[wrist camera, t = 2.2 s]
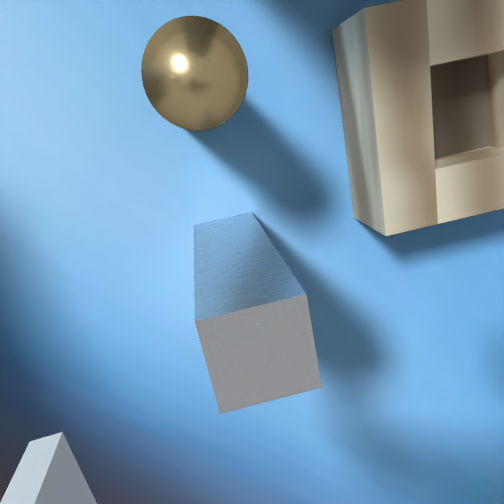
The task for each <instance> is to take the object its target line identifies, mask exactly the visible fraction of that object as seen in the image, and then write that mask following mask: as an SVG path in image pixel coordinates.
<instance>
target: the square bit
mask: <svg viewBox="0 0 504 504" xmlns="http://www.w3.org/2000/svg"><path fill="white" fill-rule="evenodd" d="M194 288H195V323H196V327H197V331H198V334H199V338H200V342H201V345H202V349H203V353H204V356H205V360H206V364H207V367H208V371H209V375H210V378H211V382H212V386H213V389H214V393H215V397H216V400H217V404H218V408H219V411H220V414H222V413H226V412H229V411H233V410H237V409H241V408H245V407H249V406H252V405H256V404H260V403H264V402H268V401H272V400H275V399H279V398H283V397H287V396H291V395H295V394H299V393H302V392H306V391H310V390H314V389H318V388H322V383H321V377H320V372H319V366H318V360H317V354H316V348H315V342H314V336H313V330H312V324H311V318H310V312H309V306H308V300H307V294H306V293H305V291H304V290H303V288H302V287H301V285H300V284H299V282H298V281H297V279H296V278H295V276H294V275H293V273H292V272H291V270H290V269H289V267H288V266H287V264H286V263H285V261H284V260H283V258H282V257H281V255H280V254H279V252H278V251H277V249H276V248H275V246H274V245H273V243H272V242H271V240H270V239H269V237H268V236H267V234H266V233H265V231H264V230H263V228H262V227H261V225H260V224H259V222H258V221H257V219H256V218H255V216H254V215H253V213H252V212H251V213H246V214H242V215H237V216H233V217H229V218H224V219H220V220H215V221H211V222H206V223H202V224H198V225H194Z"/></svg>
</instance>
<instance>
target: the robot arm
mask: <svg viewBox="0 0 504 504" xmlns="http://www.w3.org/2000/svg"><path fill="white" fill-rule="evenodd" d="M0 504H97V503H96V501H95V499H94V496H93V494H92V492H91V490H90V488H89V486H88V484H87V482H86V480H85V478H84V476H83V474H82V472H81V470H80V467H79V465H78V463H77V461H76V459H75V457H74V455H73V453H72V451H71V449H70V447H69V445H68V443H67V440H66V438H65V436H64V434H63V432H60V433H57V434H54V435H50V436H47V437H43V438H40V439H37V440H33V441H30V442H29V444H28V446H27V448H26V450H25V453H24V455H23V457H22V459H21V461H20V463H19V465H18V467H17V469H16V471H15V473H14V475H13V477H12V480H11V482H10V484H9V486H8V488H7V490H6V492H5V494H4V496H3V498H2V500H1V502H0Z"/></svg>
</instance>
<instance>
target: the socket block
mask: <svg viewBox="0 0 504 504" xmlns="http://www.w3.org/2000/svg"><path fill="white" fill-rule="evenodd" d="M332 36H333V44H334V52H335V61H336V69H337V78H338V86H339V95H340V103H341V111H342V120H343V128H344V137H345V145H346V154H347V162H348V171H349V179H350V187H351V196H352V204H353V213H354V218H356V219H357V220H359V221H361V222H362V223H364V224H366V225H368V226H369V227H371V228H373V229H374V230H376V231H378V232H380V233H381V234H383V235H385V236H389V235H393V234H397V233H402V232H406V231H410V230H414V229H419V228H423V227H427V226H431V225H436V224H440V223H444V222H448V221H453V220H457V219H461V218H465V217H469V216H474V215H478V214H482V213H486V212H491V211H495V210H499V209H503V208H504V0H401V1H396V2H391V3H386V4H380V5H375V6H370V7H365V8H363V9H362V10H360V11H359V12H357V13H356V14H354V15H353V16H351V17H350V18H348V19H347V20H345V21H344V22H342V23H341V24H339V25H338V26H336V27H335V28H333V29H332Z"/></svg>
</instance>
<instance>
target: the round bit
mask: <svg viewBox="0 0 504 504" xmlns="http://www.w3.org/2000/svg"><path fill="white" fill-rule="evenodd" d="M141 72H142V81H143V86H144V89H145V92H146V94H147V97H148V99H149V101H150V102H151V104H152V105H153V107H154V108H155V109H156V111H157V112H158V113H159V114H160V115H161V116H162V117H163V118H165V119H166V120H167V121H169V122H170V123H172V124H174V125H176V126H178V127H181V128H184V129H187V130H195V131H200V130H208V129H212V128H215V127H217V126H219V125H221V124H223V123H225V122H226V121H227V120H229V119H230V118H231V117H232V116H233V115H234V114H235V113H236V112H237V110H238V109H239V107H240V106H241V104H242V102H243V100H244V97H245V95H246V91H247V86H248V67H247V62H246V58H245V55H244V53H243V50H242V48H241V46H240V44H239V43H238V41H237V40H236V38H235V37H234V36H233V35H232V34H231V33H230V32H229V31H228V30H227V29H226V28H225V27H223V26H222V25H220V24H219V23H217V22H215V21H213V20H211V19H208V18H205V17H200V16H184V17H180V18H176V19H174V20H171V21H169V22H167V23H166V24H164V25H163V26H162V27H160V28H159V29H158V30H157V31H156V32H155V33H154V35H153V36H152V37H151V39H150V40H149V42H148V44H147V46H146V48H145V51H144V55H143V59H142V70H141Z"/></svg>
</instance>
